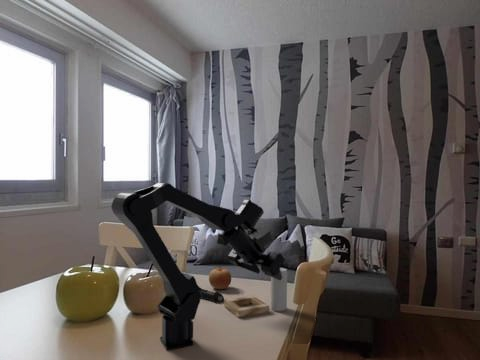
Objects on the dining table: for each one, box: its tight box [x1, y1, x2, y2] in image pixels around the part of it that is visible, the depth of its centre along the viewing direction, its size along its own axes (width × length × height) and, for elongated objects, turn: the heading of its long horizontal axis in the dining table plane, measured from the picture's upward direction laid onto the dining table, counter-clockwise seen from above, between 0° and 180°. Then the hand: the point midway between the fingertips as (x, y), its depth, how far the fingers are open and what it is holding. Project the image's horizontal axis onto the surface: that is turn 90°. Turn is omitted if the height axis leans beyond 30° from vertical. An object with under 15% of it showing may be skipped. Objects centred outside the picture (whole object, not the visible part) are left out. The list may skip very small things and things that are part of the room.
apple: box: [208, 265, 232, 290], centre depth 128 cm, size 8×8×8 cm
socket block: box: [223, 295, 270, 319], centre depth 108 cm, size 10×10×2 cm
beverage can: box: [270, 267, 288, 313], centre depth 108 cm, size 5×5×12 cm
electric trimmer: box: [199, 288, 225, 304], centre depth 118 cm, size 4×16×3 cm, turn 54°
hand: (269, 275), depth 106 cm, fingers open, 9 cm apart
